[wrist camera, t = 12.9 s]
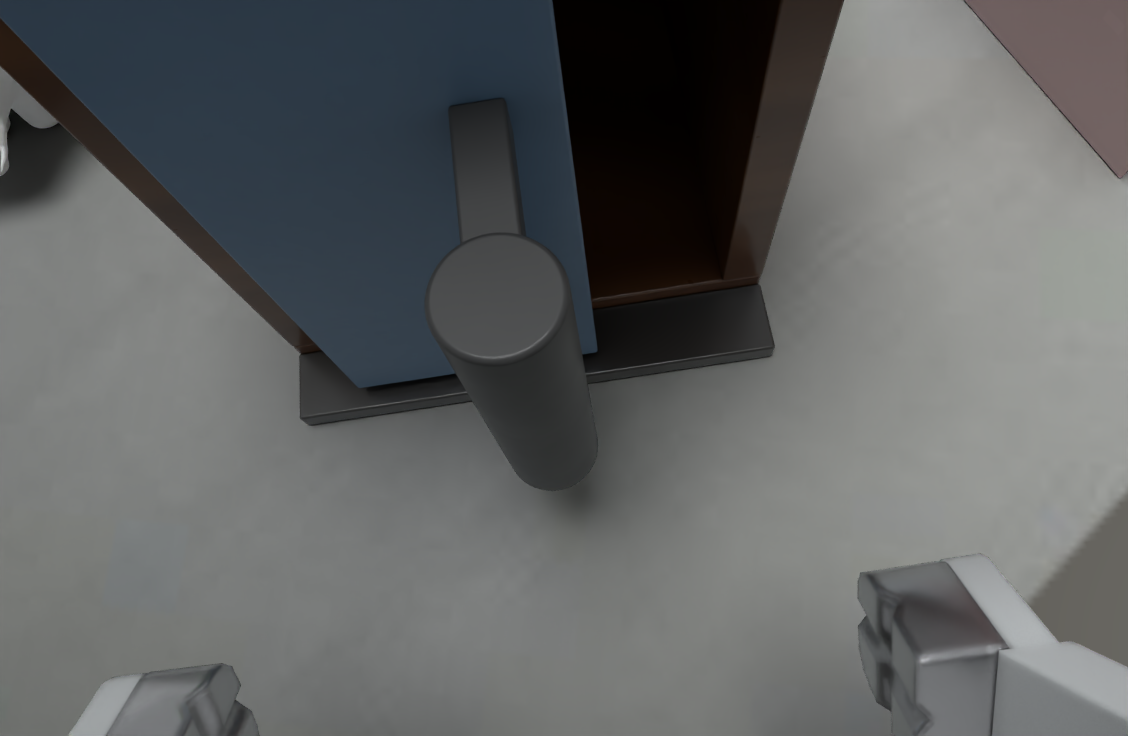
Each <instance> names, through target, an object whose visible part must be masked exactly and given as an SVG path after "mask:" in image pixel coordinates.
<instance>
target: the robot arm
mask: <svg viewBox="0 0 1128 736" xmlns="http://www.w3.org/2000/svg"><path fill="white" fill-rule="evenodd" d="M858 600H859V602H860V604H861V606H862V608H863V609H864V611H865V613H866V616H865V617H864V619H863V620H862V621H861V623H860V624H859V625H858V640H859V650H860V655H861V660H862V665H863V670H864V673H865V676H866V678H867V681H868V684H869V687H870V689H871V691H872V693H873V695H874V697H875V699H876V702H877V703H878V704H880V705H882V706H883V707H885V708H886V709H888V710H889V711H891V732H892V734H893V736H1128V667H1126V666H1124V665H1122V664H1120V663H1118V662H1116V661H1114V660H1112V659H1110V658H1107V657H1105V656H1103V655H1101V654H1099V653H1097V652H1095V651H1093V650H1090V649H1088V648H1086V647H1084V646H1082V645H1080V644H1078V643H1076V642H1073V641H1067V642H1059V641H1058V640H1057V639H1056V638H1055V637H1054V635H1053V634H1052V633H1051V632H1050V630H1049V629H1048V628H1047V627H1046V626H1045V624H1044V623H1043V622H1042V621H1041V620H1040V619H1039V617H1038V616H1037V615H1036V614H1035V613H1034V612H1033V610H1032V609H1031V608H1030V607H1029V605H1028V604H1027V603H1026V602H1025V601H1024V599H1023V598H1022V597H1021V596H1020V595H1019V593H1018V592H1017V591H1016V590H1015V589H1014V587H1013V586H1012V585H1011V584H1010V583H1009V581H1008V580H1007V579H1006V578H1005V577H1004V575H1003V574H1002V573H1001V572H1000V571H999V569H998V568H997V567H996V566H995V565H994V563H993V562H992V561H991V560H990V559H989V557H987V556H985V555H983V554H981V553H978V554H972V555H966V556H960V557H953V558H947V559H941V560H940V561H934V562H927V563H921V564H914V565H907V566H901V567H894V568H887V569H880V570H874V571H867V572H860V575H859V579H858ZM240 687H241V684H240V682H239V680H238V678H237V676H236V674H235V671H234V669H233V667H232V666H230V665H226V664H223V663H221V664H212V665H204V666H195V667H187V668H178V669H170V670H162V671H153V672H149V673H142V674H134V675H125V676H117V677H112V678H111V679H109V680H108V681H106V682H104V683H103V684H102V685H101V686H100V687H99V689H98V690H97V692H96V694H95V695H94V697H93V698H92V700H91V701H90V703H89V704H88V706H87V707H86V709H85V710H84V712H83V713H82V715H81V716H80V718H79V720H78V721H77V723H76V724H75V726H74V727H73V729H72V730H71V732H70V733H69V735H68V736H259V731H258V725H257V723H256V720H255V718H254V715H253V713H252V711H251V710H250V709H248V708H247V707H245V706H244V705H242V704H241V703H239V702H238V701H236V700H235V699H236V696H237V694H238V692H239V689H240Z"/></svg>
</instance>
